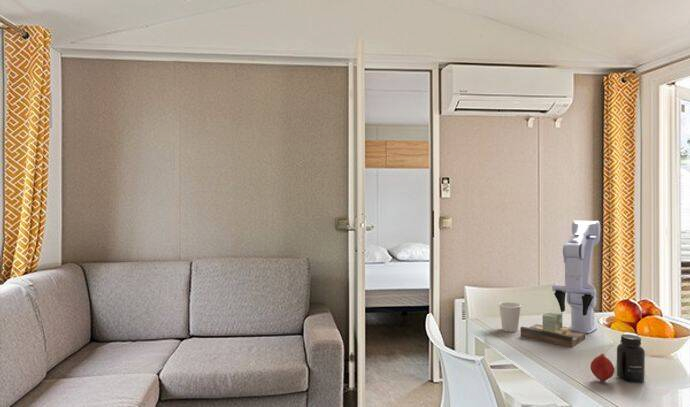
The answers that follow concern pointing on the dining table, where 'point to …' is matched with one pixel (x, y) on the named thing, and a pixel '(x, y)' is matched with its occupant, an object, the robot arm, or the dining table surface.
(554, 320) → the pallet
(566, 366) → the dining table surface
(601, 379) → the onion
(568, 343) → the dock
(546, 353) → the dining table surface
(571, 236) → the robot arm
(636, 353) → the supplement bottle
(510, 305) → the dixie cup
